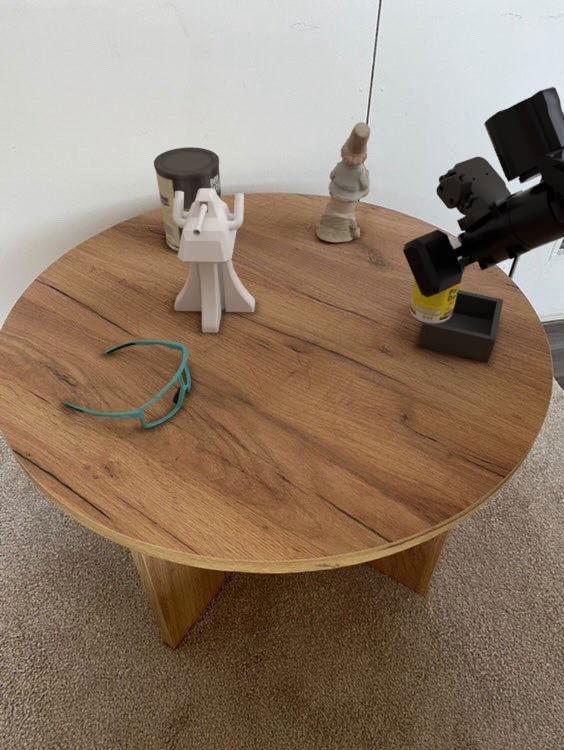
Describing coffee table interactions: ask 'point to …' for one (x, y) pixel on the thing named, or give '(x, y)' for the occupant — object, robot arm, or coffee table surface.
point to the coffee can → (184, 182)
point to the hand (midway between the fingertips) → (431, 264)
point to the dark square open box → (466, 327)
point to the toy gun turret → (210, 257)
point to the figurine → (346, 189)
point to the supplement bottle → (434, 300)
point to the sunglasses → (177, 397)
